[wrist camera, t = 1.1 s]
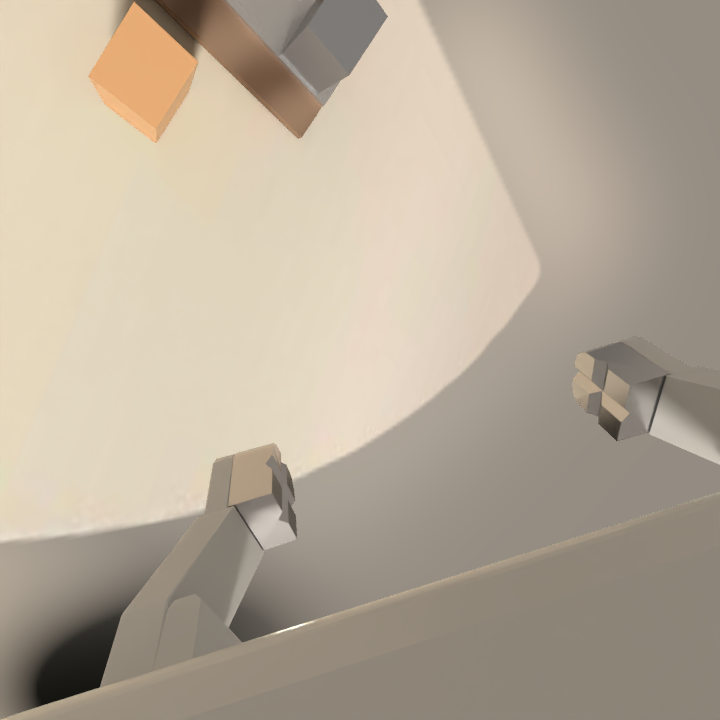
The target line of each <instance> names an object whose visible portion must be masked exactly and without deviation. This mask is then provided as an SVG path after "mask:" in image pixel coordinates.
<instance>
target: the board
mask: <svg viewBox="0 0 720 720" xmlns="http://www.w3.org/2000/svg"><path fill="white" fill-rule="evenodd" d="M156 1H157V2H158V3H159V4H160V5H161V6H162V7H163V8H164V9H165V10H166V11H167V12H168V13H169V14H170V15H171V16H172V17H173V18H174V19H175V20H176V21H177V22H178V23H179V24H180V25H181V26H182V27H183V28H184V29H185V30H186V31H188V32H189V33H190V34H191V35H192V36H193V37H194V38H195V39H196V40H197V41H198V42H199V43H200V44H201V45H202V46H203V47H204V48H205V49H206V50H207V51H208V52H209V53H210V54H211V55H212V56H213V57H214V58H215V59H216V60H217V61H218V62H220V63H221V64H222V65H223V66H224V67H225V68H226V69H227V70H228V71H229V72H230V73H231V74H232V75H233V76H234V77H235V78H236V79H237V80H238V81H239V82H240V83H241V84H242V85H243V86H244V87H245V88H246V89H247V90H248V91H249V92H250V93H251V94H253V95H254V96H255V97H256V98H257V99H258V100H259V101H260V102H261V103H262V104H263V105H264V106H265V107H266V108H267V109H268V110H269V111H270V112H271V113H272V114H273V115H274V116H275V117H276V118H277V119H278V120H279V121H280V122H281V123H282V124H283V125H285V126H286V127H287V128H288V129H289V130H290V131H291V132H292V133H293V134H294V135H295V136H296V137H297V138H301V137H302V136H303V135H304V133H305V132H306V130H307V129H308V127H309V126H310V124H311V123H312V121H313V119H314V118H315V116H316V115H317V113H318V112H319V110H320V109H321V106H320V105H319V104H318V103H317V101H316V100H315V99H314V98H313V97H312V96H311V95H310V94H309V93H308V92H307V91H306V90H305V89H304V88H303V86H302V85H301V84H300V83H299V82H298V81H297V80H296V79H295V78H294V77H293V76H292V75H291V74H290V73H289V71H288V70H287V69H286V68H285V67H284V66H283V65H282V64H281V63H280V62H279V61H278V60H277V59H276V57H275V56H274V55H273V54H272V53H271V52H270V51H269V50H268V49H267V48H266V47H265V46H264V45H263V44H262V42H261V41H260V40H259V39H258V38H257V37H256V36H255V35H254V34H253V33H252V32H251V31H250V30H249V29H248V27H247V26H246V25H245V24H244V23H243V22H242V21H241V20H240V19H239V18H238V17H237V16H236V15H235V13H234V12H233V11H232V10H231V9H230V8H229V7H228V6H227V5H226V4H225V3H224V2H223V1H222V0H156Z"/></svg>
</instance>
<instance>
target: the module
mask: <svg viewBox="0 0 720 720" xmlns="http://www.w3.org/2000/svg"><path fill="white" fill-rule="evenodd" d="M197 64H198V61H197V60H196V59H195V58H194V57H192V56H191V55H190V54H189V53H188V52H187V51H186V50H185V49H184V48H183V47H182V46H181V45H180V44H179V43H178V42H176V41H175V40H174V39H173V38H172V37H171V36H170V35H169V34H168V33H167V32H166V31H165V30H164V29H163V28H162V27H160V26H159V25H158V24H157V23H156V22H155V21H154V20H153V19H152V18H151V17H150V16H149V15H148V14H147V13H146V12H144V11H143V10H142V9H141V8H140V7H139V6H138V5H137V4H136V3H135V2H134V3H133V4H132V6H131V7H130V9H129V11H128V12H127V14H126V16H125V17H124V19H123V20H122V22H121V24H120V25H119V27H118V29H117V30H116V32H115V34H114V35H113V37H112V38H111V40H110V42H109V43H108V45H107V47H106V48H105V50H104V52H103V53H102V55H101V56H100V58H99V60H98V61H97V63H96V65H95V66H94V68H93V69H92V71H91V73H90V74H89V78H90V80H91V81H92V83H93V85H94V86H95V88H96V90H97V91H98V93H99V95H100V97H101V98H102V100H103V102H104V103H105V105H107V106H108V107H109V108H111V109H112V110H113V111H114V112H116V113H117V114H118V115H120V116H121V117H122V118H124V119H125V120H126V121H128V122H129V123H130V124H132V125H133V126H134V127H135V128H137V129H138V130H139V131H141V132H142V133H143V134H145V135H146V136H147V137H149V138H150V139H151V140H152V141H154V142H155V143H157V141H158V140H159V138H160V136H161V135H162V133H163V132H164V130H165V128H166V127H167V125H168V124H169V122H170V121H171V119H172V117H173V116H174V114H175V113H176V111H177V109H178V108H179V106H180V105H181V103H182V101H183V100H184V98H185V97H186V95H187V94H188V92H189V89H190V86H191V83H192V80H193V77H194V74H195V71H196V68H197Z"/></svg>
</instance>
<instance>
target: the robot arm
mask: <svg viewBox="0 0 720 720" xmlns="http://www.w3.org/2000/svg"><path fill="white" fill-rule="evenodd" d="M575 367H576V368H577V369H578V370H579V372H578V374H577V375H576V376H575V377H574V379H573V386H572V390H573V393H574V396H575V399H576V401H577V402H578V404H579V406H580V407H581V408H582V409H583V410H584V411H586V412H587V413H590V414H593V415H595V416H598V424H599V425H600V426H601V427H602V428H603V429H604V430H605V431H607V432H608V433H609V434H610V435H611V436H612V437H613V438H614V439H615V440H616V441H620V440H624V439H627V438H630V437H634V436H638V435H642V434H645V433H649V432H650V435H653V436H655V437H658V438H660V439H662V440H664V441H666V442H669V443H671V444H674V445H676V446H678V447H680V448H683V449H685V450H687V451H690V452H692V453H694V454H696V455H699V456H701V457H703V458H706V459H708V460H710V461H712V462H715V463H717V464H719V465H720V371H719V370H714V369H709V368H704V367H700V366H697V367H694V368H692V367H690V366H689V365H687V364H685V363H684V362H682V361H680V360H678V359H677V358H675V357H674V356H672V355H670V354H669V353H667V352H665V351H663V350H662V349H660V348H658V347H657V346H655V345H653V344H652V343H650V342H648V341H647V340H645V339H643V338H642V337H637V336H633V337H630V338H627V339H623V340H620V341H617V342H615V343H611V344H608V345H604V346H601V347H598V348H594V349H591V350H588V351H585V352H581V353H579V354H578V356H577V357H576V360H575ZM294 501H295V495H294V488H293V482H292V478H291V475H290V472H289V470H288V468H287V465H286V464H283V463H281V453H280V451H279V449H278V447H277V445H276V444H274V443H273V444H269V445H265V446H262V447H258V448H254V449H251V450H247V451H243V452H239V453H236V454H234V455H230V456H226V457H222V458H219V459H216V460H215V462H214V463H213V467H212V473H211V479H210V484H209V490H208V496H207V502H206V508H205V513H204V515H201V516H199V517H197V519H196V520H195V521H194V523H193V524H192V525H191V526H190V528H189V529H188V530H187V532H186V533H185V534H184V536H183V537H182V538H181V539H180V541H179V542H178V543H177V545H176V546H175V547H174V548H173V550H172V551H171V552H170V554H169V555H168V556H167V557H166V559H165V560H164V561H163V563H162V564H161V565H160V566H159V568H158V569H157V570H156V572H155V573H154V574H153V575H152V577H151V578H150V579H149V580H148V582H147V583H146V584H145V586H144V587H143V588H142V589H141V591H140V592H139V593H138V595H137V596H136V597H135V598H134V600H133V601H132V602H131V604H130V605H129V606H128V608H127V609H126V610H125V611H124V613H123V614H122V616H121V620H120V623H119V626H118V630H117V633H116V636H115V640H114V643H113V646H112V649H111V653H110V656H109V659H108V662H107V666H106V669H105V672H104V676H103V679H102V682H101V686H100V688H97V689H94V690H91V691H88V692H85V693H82V694H78V695H75V696H72V697H69V698H66V699H63V700H59V701H56V702H53V703H50V704H47V705H43V706H40V707H37V708H34V709H31V710H28V711H24V712H21V713H18V714H15V715H12V716H9V717H6V718H2V719H0V720H720V492H718V493H714V494H711V495H708V496H705V497H702V498H699V499H695V500H692V501H689V502H686V503H683V504H679V505H676V506H673V507H670V508H667V509H664V510H660V511H657V512H654V513H651V514H648V515H645V516H641V517H638V518H636V519H632V520H629V521H626V522H623V523H619V524H616V525H613V526H610V527H607V528H604V529H601V530H597V531H594V532H591V533H588V534H585V535H582V536H578V537H575V538H572V539H569V540H566V541H563V542H559V543H556V544H553V545H550V546H547V547H544V548H540V549H537V550H534V551H531V552H528V553H525V554H522V555H519V556H515V557H512V558H509V559H506V560H503V561H500V562H496V563H493V564H490V565H487V566H484V567H481V568H478V569H474V570H471V571H468V572H465V573H462V574H459V575H455V576H452V577H449V578H446V579H443V580H440V581H436V582H433V583H430V584H427V585H424V586H421V587H417V588H414V589H411V590H408V591H405V592H402V593H398V594H395V595H392V596H389V597H386V598H383V599H380V600H376V601H373V602H370V603H367V604H364V605H360V606H357V607H354V608H351V609H348V610H345V611H342V612H338V613H335V614H332V615H329V616H326V617H322V618H319V619H316V620H313V621H310V622H307V623H303V624H300V625H297V626H294V627H291V628H288V629H284V630H281V631H278V632H275V633H272V634H269V635H266V636H262V637H259V638H256V639H253V640H250V641H246V642H243V643H242V642H241V641H240V640H239V639H238V638H237V637H236V636H235V635H234V633H233V632H232V631H231V630H230V629H229V628H228V627H229V625H230V623H231V621H232V619H233V616H234V615H235V612H236V610H237V608H238V606H239V604H240V602H241V600H242V598H243V596H244V594H245V591H246V589H247V587H248V585H249V583H250V581H251V579H252V577H253V575H254V573H255V570H256V568H257V566H258V564H259V562H260V560H261V558H262V556H263V554H264V552H263V551H264V550H266V549H270V548H272V547H276V546H279V545H281V544H285V543H287V542H290V541H293V540H296V539H297V528H296V515H295V513H294V511H293V509H292V507H291V506H292V504H293V503H294Z"/></svg>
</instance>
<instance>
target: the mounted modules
mask: <svg viewBox="0 0 720 720" xmlns="http://www.w3.org/2000/svg"><path fill="white" fill-rule="evenodd" d="M387 17H388V16H387V15H386V13H385V12H384V10H383V9H382V8H381V6H380V5H379V3H378V2H377V1H376V0H316V1H315V2H314V4H313V6H312V7H311V9H310V10H309V12H308V13H307V15H306V16H305V18H304V19H303V21H302V23H301V24H300V26H299V27H298V29H297V30H296V32H295V33H294V35H293V37H292V38H291V40H290V41H289V43H288V44H287V46H286V47H285V49H284V51H283V52H282V54H281V56H282V57H283V58H284V59H285V60H286V61H287V62H288V63H289V64H290V65H291V66H292V68H293V69H294V70H295V71H296V72H297V73H298V74H299V75H300V76H301V77H302V78H303V80H304V81H305V82H306V83H307V84H308V85H309V86H310V87H311V88H312V89H313V90H314V91H315V93H316V94H319V93H320V92H322V91H324V90H325V89H327V88H329V87H330V86H332V85H334V84H335V83H337V82H339V81H340V80H342V79H343V78H345V77H347V76H348V75H350V73H351V72H352V70H353V69H354V67H355V66H356V64H357V63H358V61H359V59H360V58H361V56H362V55H363V53H364V52H365V50H366V49H367V47H368V46H369V44H370V43H371V41H372V40H373V38H374V37H375V35H376V34H377V32H378V31H379V29H380V28H381V26H382V24H383V23H384V21H385V20H386V18H387Z"/></svg>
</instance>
